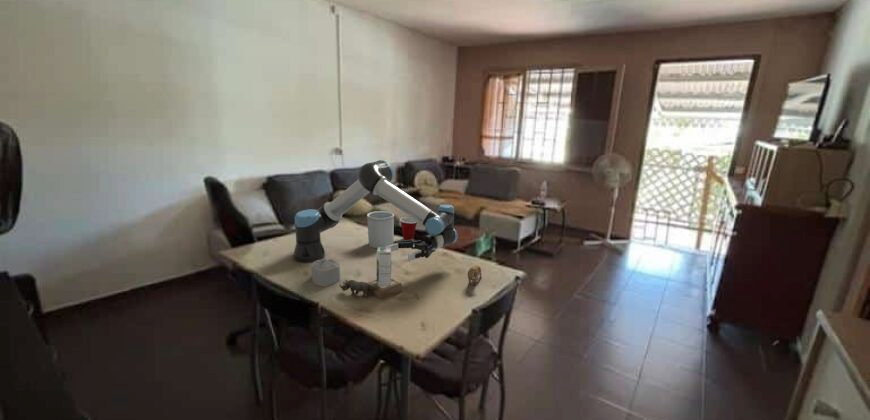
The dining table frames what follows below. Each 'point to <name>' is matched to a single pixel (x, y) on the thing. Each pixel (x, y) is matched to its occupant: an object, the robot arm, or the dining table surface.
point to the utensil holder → (380, 228)
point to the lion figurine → (474, 274)
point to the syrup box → (384, 266)
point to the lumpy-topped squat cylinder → (325, 272)
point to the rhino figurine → (357, 287)
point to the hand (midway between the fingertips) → (397, 253)
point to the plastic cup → (408, 227)
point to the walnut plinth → (384, 289)
